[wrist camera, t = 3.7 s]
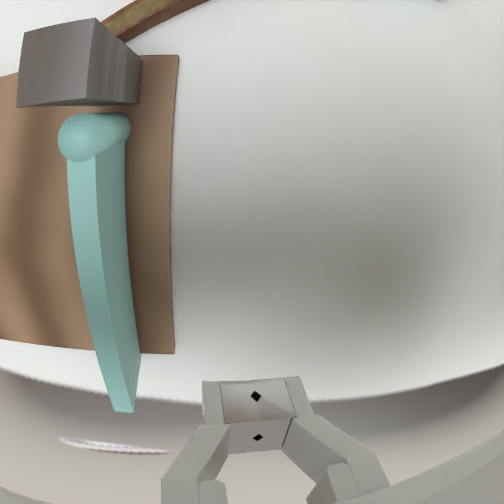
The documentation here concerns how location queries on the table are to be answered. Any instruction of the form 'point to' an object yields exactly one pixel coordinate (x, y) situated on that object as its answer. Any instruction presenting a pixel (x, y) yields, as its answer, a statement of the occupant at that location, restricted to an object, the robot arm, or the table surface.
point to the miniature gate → (145, 16)
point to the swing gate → (103, 244)
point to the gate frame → (56, 182)
